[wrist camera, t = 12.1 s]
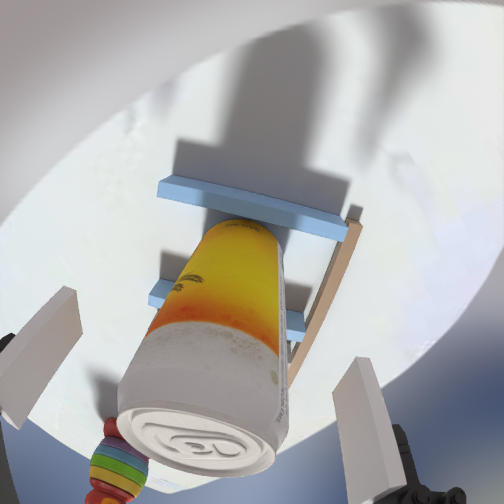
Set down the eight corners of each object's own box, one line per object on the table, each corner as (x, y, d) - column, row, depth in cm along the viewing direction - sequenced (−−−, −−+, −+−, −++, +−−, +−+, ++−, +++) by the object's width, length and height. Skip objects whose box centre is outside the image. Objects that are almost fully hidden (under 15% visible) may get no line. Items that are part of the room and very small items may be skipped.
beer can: (191, 223, 20) (71, 387, 7) (275, 208, 19) (274, 398, 6) (211, 294, 23) (153, 471, 9) (288, 285, 22) (295, 480, 8)
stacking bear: (172, 447, 36) (147, 539, 20) (146, 456, 39) (122, 531, 23) (113, 414, 33) (73, 508, 17) (95, 427, 37) (62, 503, 21)
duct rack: (156, 376, 28) (149, 393, 25) (172, 174, 19) (158, 181, 16) (276, 404, 28) (275, 422, 26) (358, 221, 19) (369, 234, 17)
